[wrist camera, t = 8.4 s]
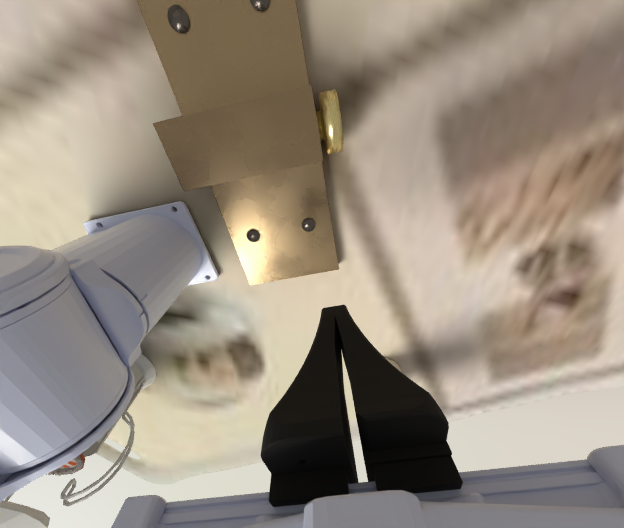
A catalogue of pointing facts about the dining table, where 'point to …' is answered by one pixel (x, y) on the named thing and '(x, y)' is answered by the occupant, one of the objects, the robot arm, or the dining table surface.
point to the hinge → (247, 128)
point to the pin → (330, 121)
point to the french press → (79, 462)
